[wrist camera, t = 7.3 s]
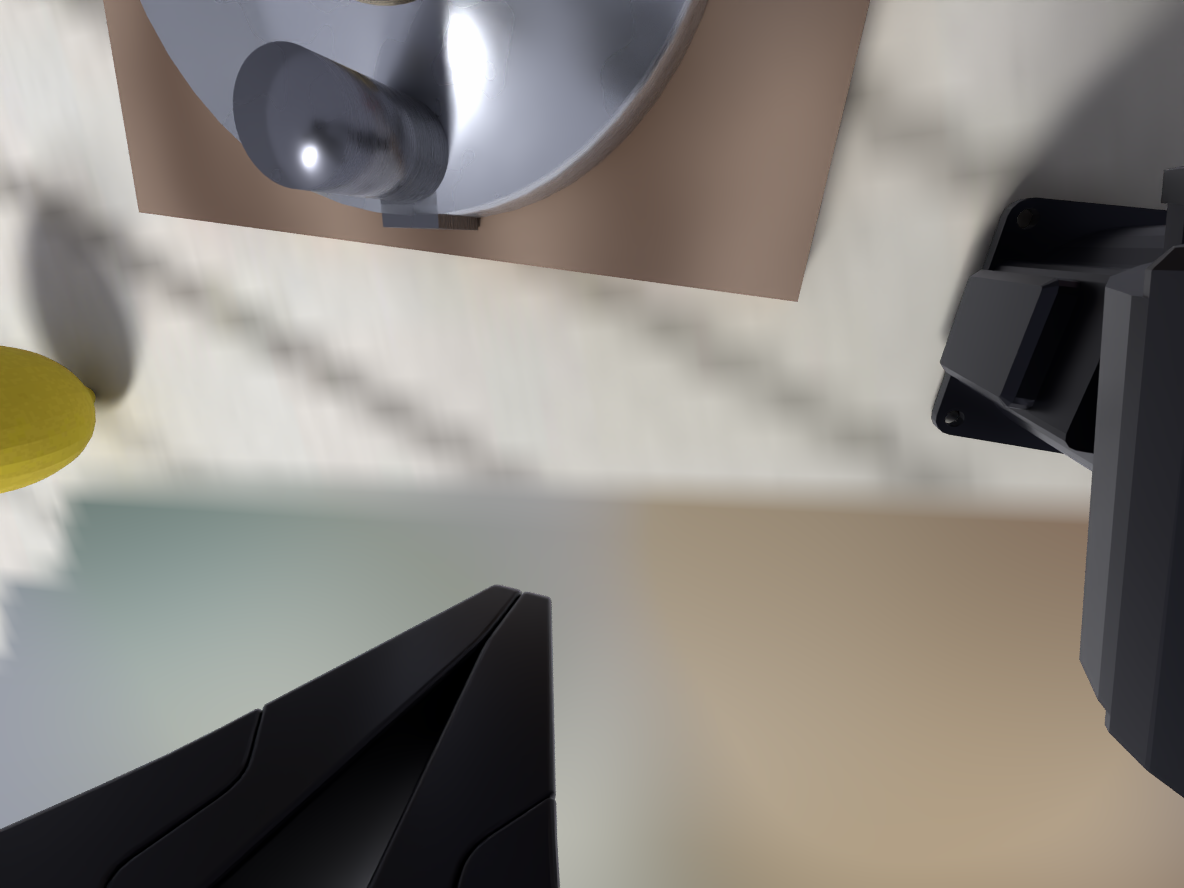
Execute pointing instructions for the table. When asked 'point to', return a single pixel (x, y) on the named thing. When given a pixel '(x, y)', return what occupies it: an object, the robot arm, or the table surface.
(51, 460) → the lemon
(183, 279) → the table surface
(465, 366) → the table surface
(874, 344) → the table surface
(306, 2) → the notched round platform
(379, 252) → the table surface
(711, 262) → the base plate
